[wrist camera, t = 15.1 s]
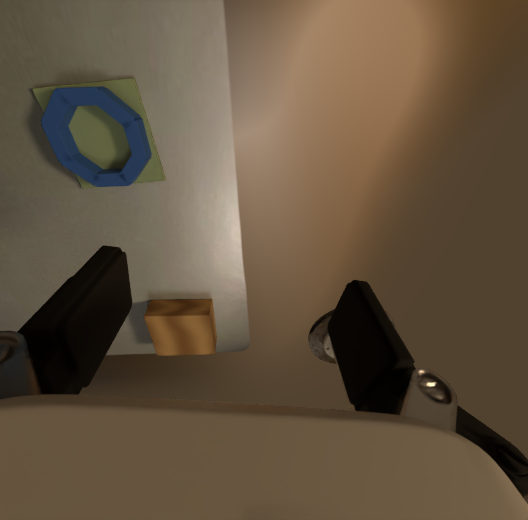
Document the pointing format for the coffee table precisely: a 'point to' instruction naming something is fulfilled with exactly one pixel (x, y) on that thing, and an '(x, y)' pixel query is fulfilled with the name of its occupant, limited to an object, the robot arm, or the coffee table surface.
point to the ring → (66, 148)
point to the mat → (107, 130)
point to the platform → (182, 326)
